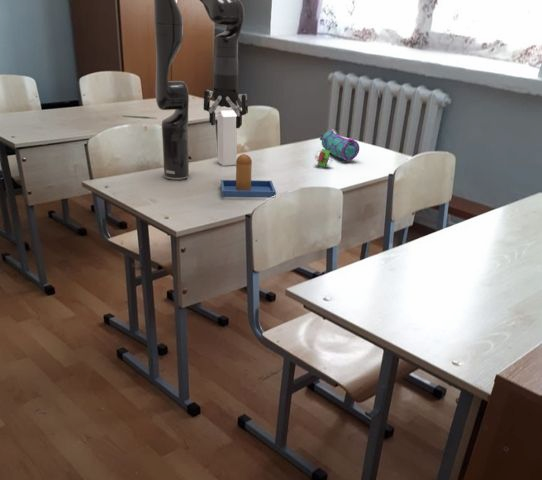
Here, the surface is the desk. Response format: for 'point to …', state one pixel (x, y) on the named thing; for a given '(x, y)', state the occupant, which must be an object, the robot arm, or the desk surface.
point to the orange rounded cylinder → (243, 173)
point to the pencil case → (340, 145)
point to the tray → (257, 190)
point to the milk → (226, 136)
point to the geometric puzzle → (322, 157)
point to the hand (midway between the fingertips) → (225, 126)
